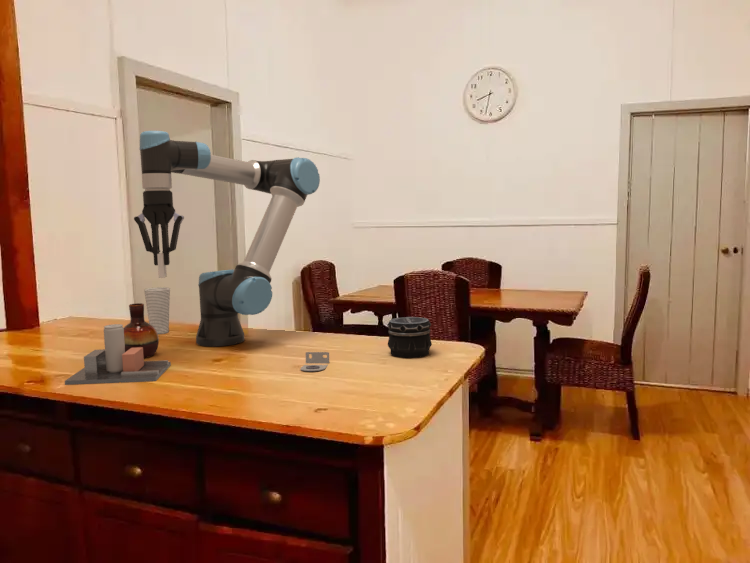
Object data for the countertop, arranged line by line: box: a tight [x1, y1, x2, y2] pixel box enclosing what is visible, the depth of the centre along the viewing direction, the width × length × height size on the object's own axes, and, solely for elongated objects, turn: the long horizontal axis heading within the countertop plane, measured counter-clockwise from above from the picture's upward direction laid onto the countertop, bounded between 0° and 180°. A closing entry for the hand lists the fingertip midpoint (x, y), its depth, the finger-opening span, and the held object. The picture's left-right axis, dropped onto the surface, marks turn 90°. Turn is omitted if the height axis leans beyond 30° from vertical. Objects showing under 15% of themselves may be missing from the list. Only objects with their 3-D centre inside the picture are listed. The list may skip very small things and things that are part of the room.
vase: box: [123, 302, 160, 359], centre depth 185 cm, size 11×11×15 cm
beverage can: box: [103, 323, 125, 373], centre depth 165 cm, size 5×5×12 cm
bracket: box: [300, 351, 330, 372], centre depth 169 cm, size 7×10×4 cm, turn 174°
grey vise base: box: [64, 348, 172, 386], centre depth 165 cm, size 22×16×6 cm
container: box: [386, 316, 432, 359], centre depth 182 cm, size 13×13×10 cm
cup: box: [143, 286, 171, 335], centre depth 220 cm, size 8×8×16 cm
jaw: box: [122, 347, 145, 371], centre depth 165 cm, size 3×8×5 cm, turn 5°
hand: (162, 277), depth 172 cm, fingers closed
